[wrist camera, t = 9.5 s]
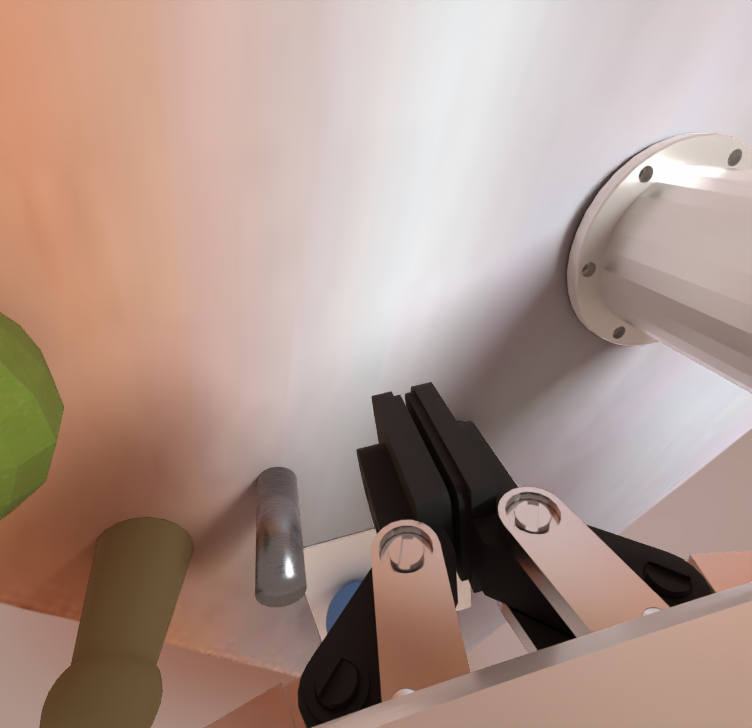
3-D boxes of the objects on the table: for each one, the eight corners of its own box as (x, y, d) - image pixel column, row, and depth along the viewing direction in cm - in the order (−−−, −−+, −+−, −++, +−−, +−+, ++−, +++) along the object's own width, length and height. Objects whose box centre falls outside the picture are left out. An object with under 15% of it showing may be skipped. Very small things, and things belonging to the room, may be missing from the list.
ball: (390, 631, 38) (380, 564, 38) (413, 664, 32) (401, 586, 33) (325, 652, 36) (316, 581, 37) (339, 690, 31) (327, 606, 31)
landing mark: (466, 502, 35) (467, 504, 35) (470, 605, 42) (471, 607, 42) (290, 551, 33) (290, 553, 33) (325, 649, 40) (325, 651, 40)
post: (291, 463, 29) (300, 568, 22) (300, 490, 31) (311, 598, 24) (252, 473, 29) (249, 582, 22) (262, 500, 30) (262, 612, 23)
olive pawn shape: (80, 528, 28) (-11, 735, 19) (180, 509, 29) (142, 696, 20) (113, 587, 31) (48, 791, 22) (202, 568, 32) (178, 754, 23)
